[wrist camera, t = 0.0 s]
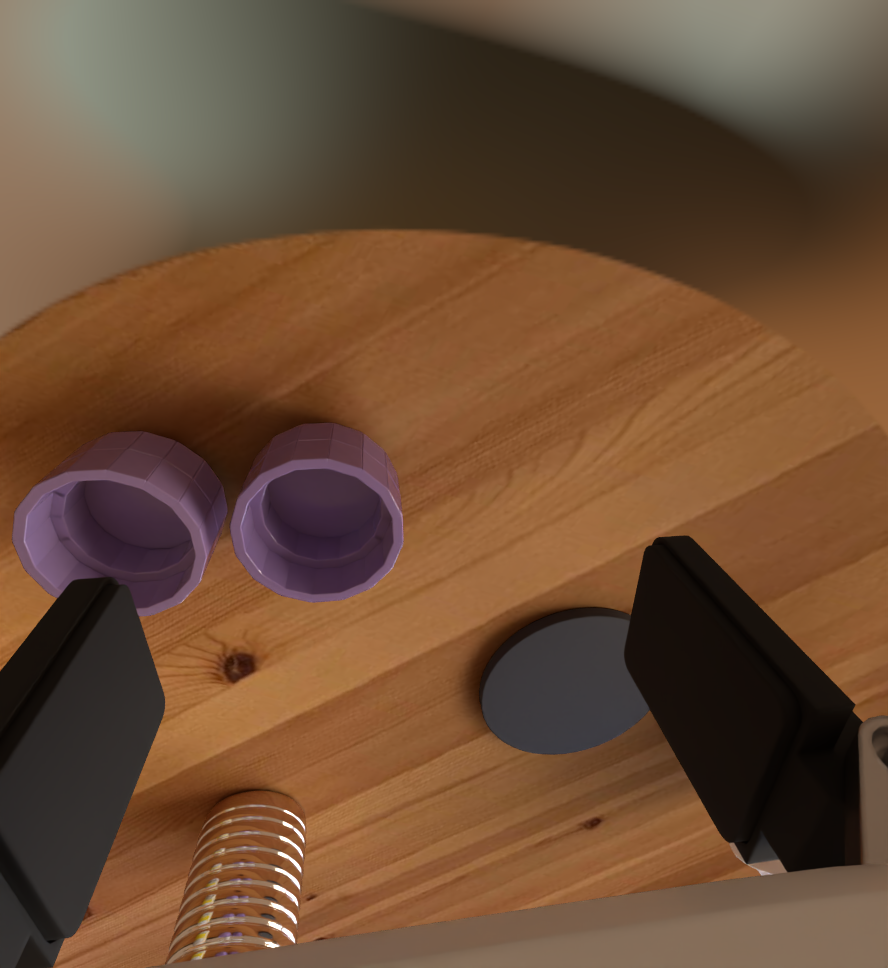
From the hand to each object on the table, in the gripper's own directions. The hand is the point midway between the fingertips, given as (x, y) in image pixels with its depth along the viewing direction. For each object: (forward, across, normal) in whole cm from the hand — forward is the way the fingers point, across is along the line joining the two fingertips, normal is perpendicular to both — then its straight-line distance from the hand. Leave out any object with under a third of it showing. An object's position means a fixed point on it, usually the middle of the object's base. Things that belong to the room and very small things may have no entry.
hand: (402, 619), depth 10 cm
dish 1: (+16, +11, +5) cm, 20 cm away
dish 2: (+16, +3, +5) cm, 17 cm away
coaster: (+16, -11, +20) cm, 28 cm away
